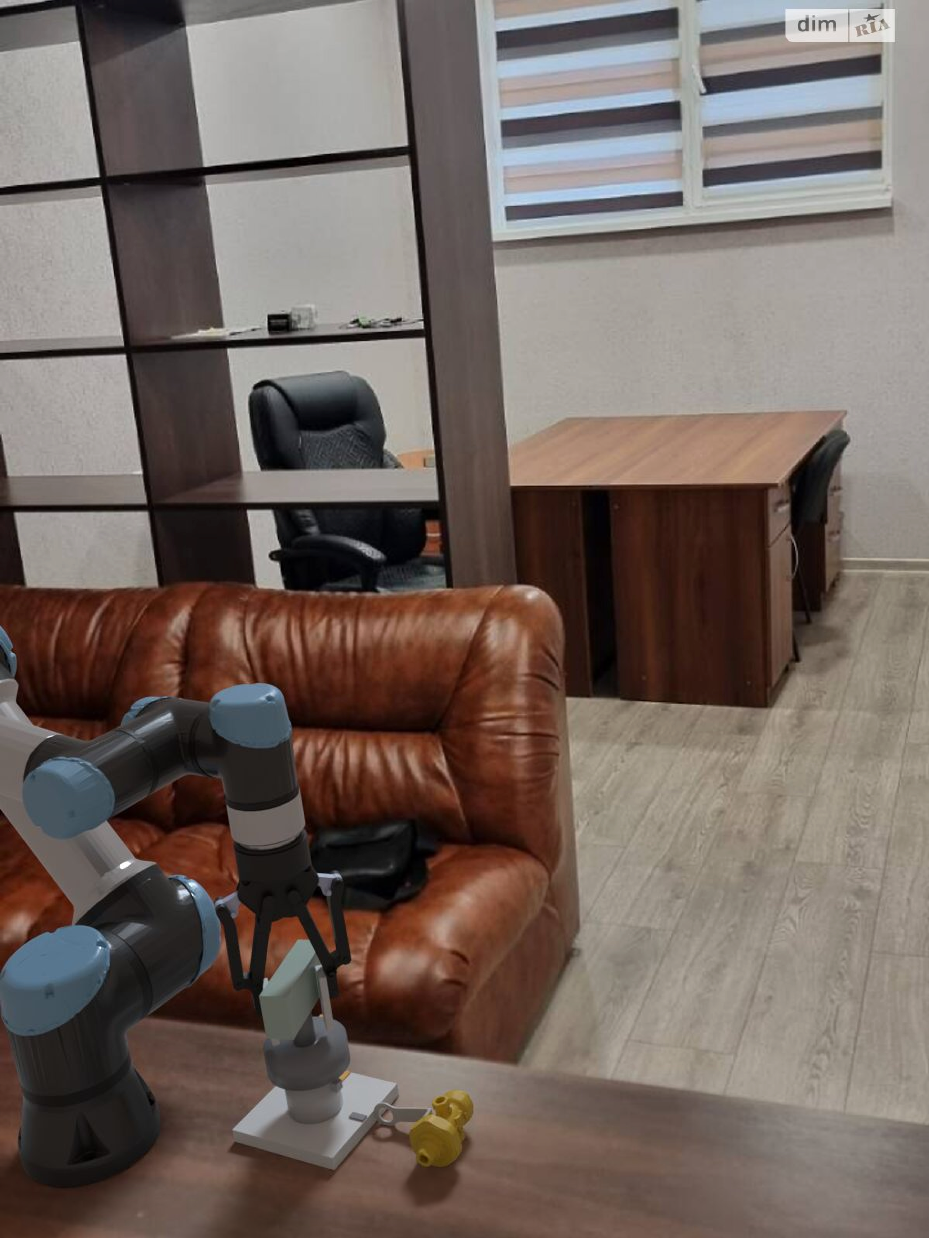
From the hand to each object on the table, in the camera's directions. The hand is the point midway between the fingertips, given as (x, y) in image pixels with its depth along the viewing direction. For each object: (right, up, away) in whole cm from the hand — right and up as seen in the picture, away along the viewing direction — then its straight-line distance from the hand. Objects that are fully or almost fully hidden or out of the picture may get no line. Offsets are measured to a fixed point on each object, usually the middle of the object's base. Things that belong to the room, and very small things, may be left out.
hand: (301, 1031), depth 145 cm
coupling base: (+1, -11, +3) cm, 11 cm away
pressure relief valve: (+13, -11, -2) cm, 17 cm away
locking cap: (+1, -4, +2) cm, 4 cm away
